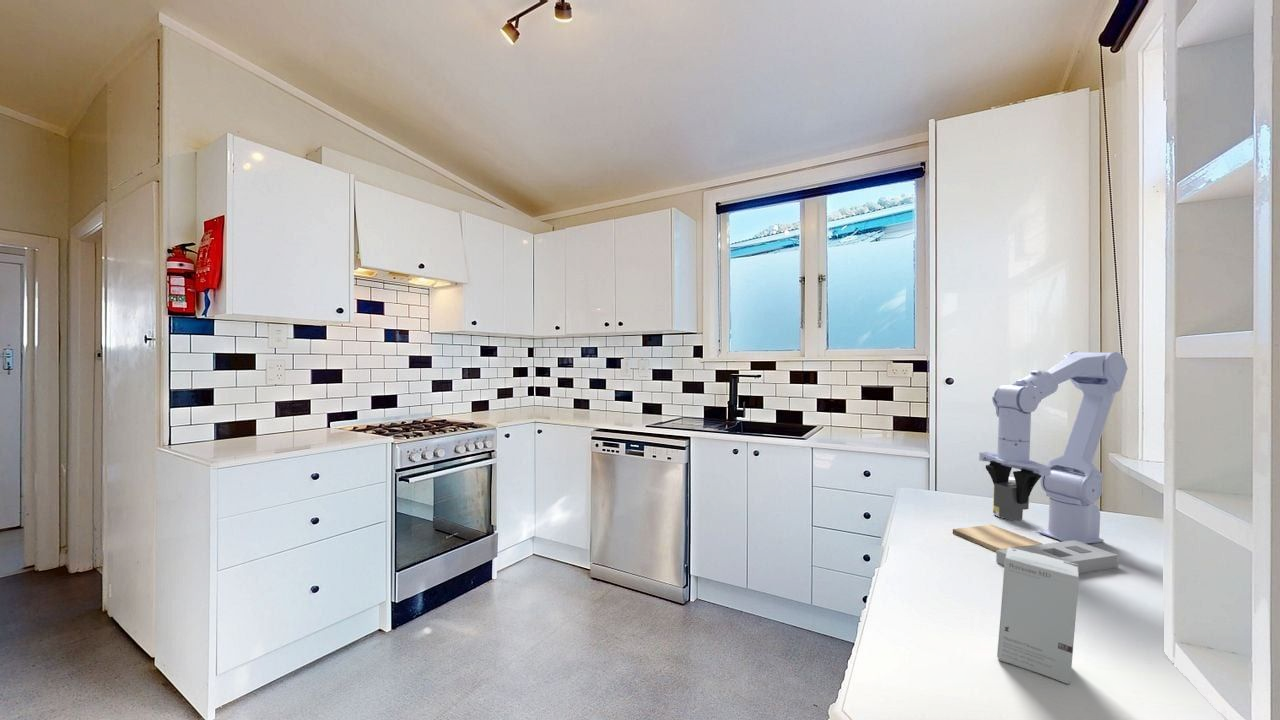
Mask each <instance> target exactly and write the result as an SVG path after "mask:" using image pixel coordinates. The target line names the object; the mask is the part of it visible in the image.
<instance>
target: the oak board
mask: <svg viewBox="0 0 1280 720" xmlns="http://www.w3.org/2000/svg"><path fill="white" fill-rule="evenodd" d="M952 534H954V535H955V534H956V536H958V537H961V538H963V539H965V540H967V541H970V542H972V543H974V544H977V545H980V546H981V545H982V547H985V548H986V547H987V548H986V549H989V550H991V551H994V552H996V553H997V550H1002V549H1007V548H1018V547H1025V546H1033V545H1041V544H1043V543H1042V542H1039V541H1038V540H1033V539H1031V538H1029V537H1026V536H1023V535H1020V534H1018V533H1016V532H1012V531H1009V530H1008V529H1005V528H1002V527H999V526H996V525H994V524H987V525H986V524H985V525H979V526H978V525H977V526H968V527H960V528H953V529H952Z"/></svg>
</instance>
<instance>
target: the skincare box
mask: <svg viewBox="0 0 1280 720" xmlns="http://www.w3.org/2000/svg"><path fill="white" fill-rule="evenodd" d="M1003 567H1004V568H1003V576H1002V577H1003V579H1002V590H1001V591H1002V592H1001V594H1002V595H1001V602H1000V603H1001V604H1000V606H1001V607H1000V617H999V627H998V628H999V629H998V639H997V640H998V642H997V655H996V657H997V659H998V661H1001V662H1004V663H1006V664H1010V665H1013V666H1017V667H1019V668H1022V669H1025V670H1027V671H1030V672H1033V673H1037V674H1039V675H1043V676H1045V677H1048V678H1050V679H1054V680H1056V681H1059V682H1062V683H1064V684H1068V685H1069V684H1071V682H1072V666H1073V653H1074V644H1075V643H1074V641H1075V631H1076V620H1077V619H1076V617H1077V609H1078V595H1079V582H1080V581H1079V580H1080V577H1079V574H1080V573H1079V569H1078V565H1077V564H1074V563H1070V562H1066V561H1062V560H1059V559H1055V558H1051V557H1048V556H1045V555H1041V554H1036V553H1031V552H1026V551H1022V550H1018V549H1013V548H1007V551H1006V557H1005V565H1003Z"/></svg>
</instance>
